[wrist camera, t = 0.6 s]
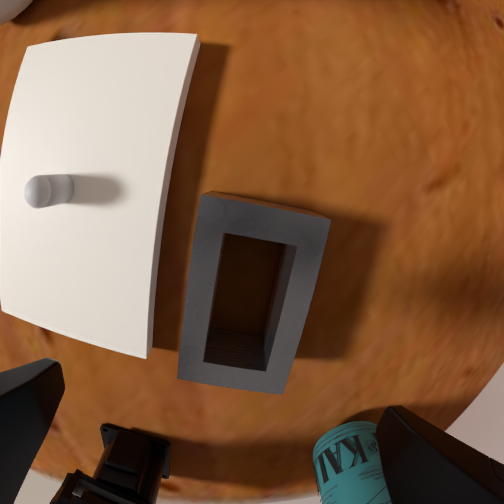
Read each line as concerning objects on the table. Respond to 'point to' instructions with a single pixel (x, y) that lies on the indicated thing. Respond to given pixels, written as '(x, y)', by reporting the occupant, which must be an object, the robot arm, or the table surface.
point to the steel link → (282, 300)
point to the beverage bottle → (350, 466)
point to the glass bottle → (11, 9)
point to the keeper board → (91, 183)
